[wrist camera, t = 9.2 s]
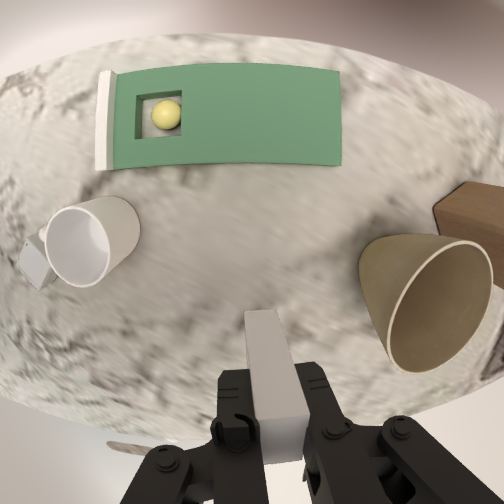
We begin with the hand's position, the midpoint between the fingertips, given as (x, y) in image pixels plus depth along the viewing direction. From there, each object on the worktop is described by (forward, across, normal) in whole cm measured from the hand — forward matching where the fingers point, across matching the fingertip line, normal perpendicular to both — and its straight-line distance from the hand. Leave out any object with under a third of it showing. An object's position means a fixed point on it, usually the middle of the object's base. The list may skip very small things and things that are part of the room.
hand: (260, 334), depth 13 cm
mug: (+23, -18, +2) cm, 29 cm away
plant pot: (+23, +19, -5) cm, 30 cm away
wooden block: (+22, +34, +1) cm, 41 cm away
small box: (+23, -29, -1) cm, 37 cm away
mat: (+23, -2, +15) cm, 27 cm away
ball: (+21, -8, +15) cm, 27 cm away
